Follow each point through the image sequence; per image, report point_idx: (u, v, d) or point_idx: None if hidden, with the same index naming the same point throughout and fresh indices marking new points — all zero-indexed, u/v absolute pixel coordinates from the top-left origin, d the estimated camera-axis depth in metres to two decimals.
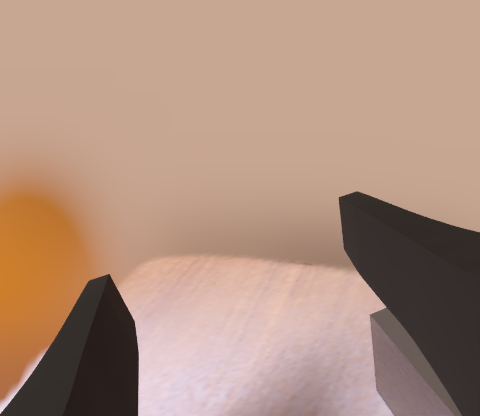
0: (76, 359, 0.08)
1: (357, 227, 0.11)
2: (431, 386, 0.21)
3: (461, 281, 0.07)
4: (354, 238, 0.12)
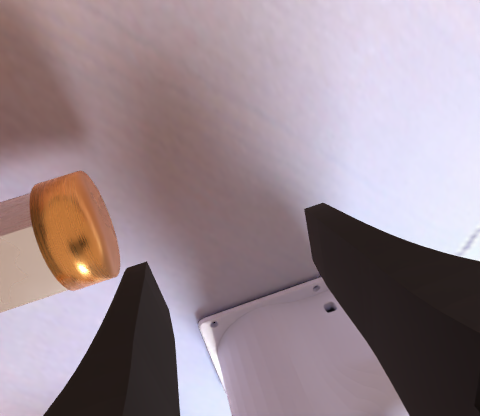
0: (129, 340, 0.08)
1: (321, 239, 0.11)
2: None
3: (407, 301, 0.07)
4: (319, 250, 0.12)
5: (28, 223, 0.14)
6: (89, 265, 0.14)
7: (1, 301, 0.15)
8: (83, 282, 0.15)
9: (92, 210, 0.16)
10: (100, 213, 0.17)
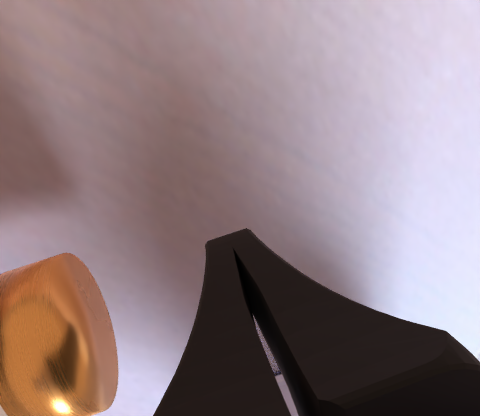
0: (240, 302, 0.08)
1: (239, 267, 0.11)
2: None
3: (285, 346, 0.07)
4: (241, 277, 0.11)
5: None
6: (71, 408, 0.10)
7: None
8: None
9: (78, 311, 0.11)
10: (90, 307, 0.12)
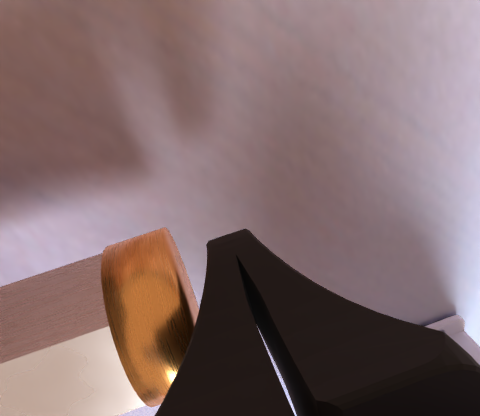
0: (242, 301, 0.08)
1: None
2: None
3: (283, 346, 0.07)
4: None
5: (101, 319, 0.09)
6: None
7: None
8: None
9: (182, 285, 0.11)
10: (185, 283, 0.12)
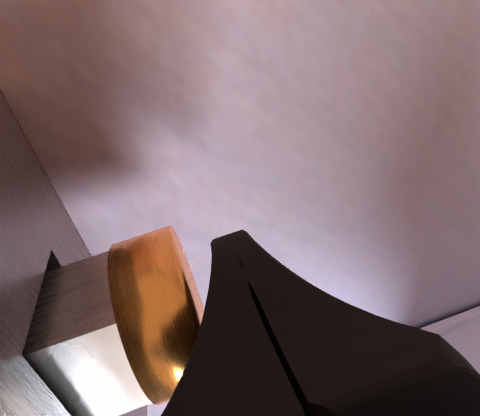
0: (248, 299, 0.08)
1: None
2: None
3: (278, 348, 0.07)
4: None
5: (108, 317, 0.09)
6: None
7: None
8: None
9: (188, 284, 0.11)
10: (190, 281, 0.12)
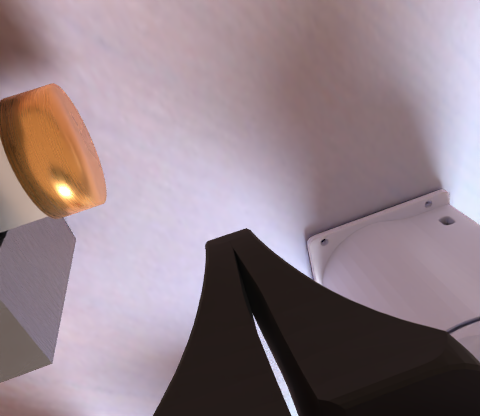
0: (240, 301, 0.08)
1: (239, 267, 0.11)
2: None
3: (285, 345, 0.07)
4: (241, 277, 0.11)
5: None
6: (67, 182, 0.12)
7: None
8: (62, 205, 0.13)
9: (71, 128, 0.14)
10: (82, 137, 0.15)
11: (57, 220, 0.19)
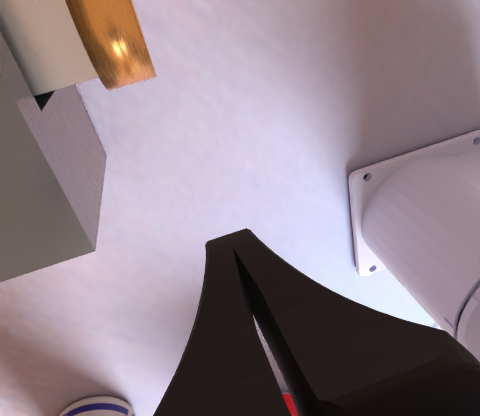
0: (240, 301, 0.08)
1: (239, 267, 0.11)
2: None
3: (285, 346, 0.07)
4: (241, 277, 0.11)
5: None
6: (125, 25, 0.11)
7: None
8: (115, 61, 0.11)
9: None
10: (132, 4, 0.13)
11: (89, 127, 0.18)
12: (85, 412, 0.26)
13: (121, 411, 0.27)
